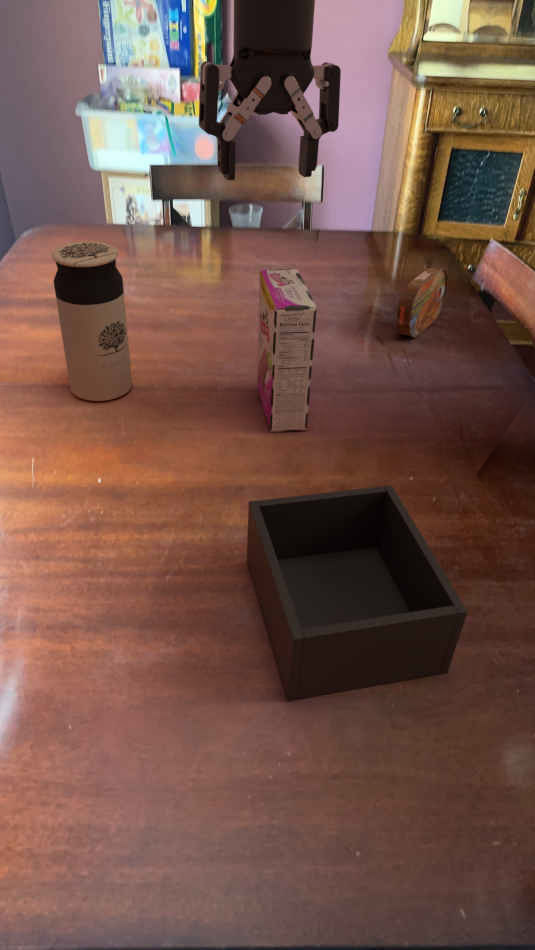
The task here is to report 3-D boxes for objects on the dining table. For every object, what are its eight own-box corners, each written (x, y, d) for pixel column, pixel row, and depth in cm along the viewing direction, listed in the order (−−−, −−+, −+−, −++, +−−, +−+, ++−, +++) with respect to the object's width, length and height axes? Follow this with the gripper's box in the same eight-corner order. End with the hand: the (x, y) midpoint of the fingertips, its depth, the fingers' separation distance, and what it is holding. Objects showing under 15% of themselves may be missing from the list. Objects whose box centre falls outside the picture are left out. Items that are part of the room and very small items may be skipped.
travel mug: (61, 382, 90) (38, 246, 79) (116, 367, 93) (102, 236, 82) (85, 409, 85) (65, 268, 74) (142, 392, 88) (131, 256, 77)
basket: (380, 543, 67) (391, 484, 63) (447, 672, 55) (468, 611, 51) (246, 561, 64) (248, 501, 60) (287, 701, 52) (293, 639, 48)
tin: (407, 345, 103) (417, 292, 98) (388, 339, 104) (397, 287, 99) (443, 313, 113) (454, 263, 108) (426, 308, 114) (436, 259, 109)
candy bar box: (254, 388, 91) (258, 268, 81) (290, 386, 91) (299, 267, 81) (267, 434, 82) (274, 306, 72) (308, 432, 83) (320, 305, 73)
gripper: (210, -12, 57) (212, 189, 67) (362, -6, 61) (343, 183, 71) (189, -15, 63) (193, 171, 73) (330, -10, 67) (316, 166, 77)
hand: (267, 177), depth 72 cm, fingers open, 8 cm apart
